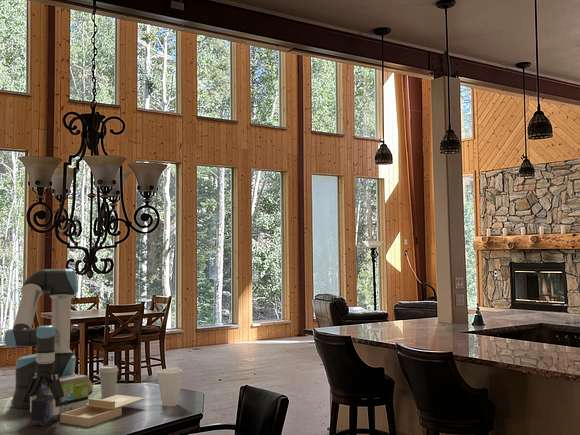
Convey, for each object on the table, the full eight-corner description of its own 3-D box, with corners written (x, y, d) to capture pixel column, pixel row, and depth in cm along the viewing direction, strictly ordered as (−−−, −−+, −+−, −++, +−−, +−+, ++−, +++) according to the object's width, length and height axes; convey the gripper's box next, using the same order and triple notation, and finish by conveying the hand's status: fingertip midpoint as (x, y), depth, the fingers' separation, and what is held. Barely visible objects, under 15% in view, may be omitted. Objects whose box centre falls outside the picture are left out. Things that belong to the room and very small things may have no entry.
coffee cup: (122, 396, 310) (122, 366, 311) (107, 400, 302) (107, 369, 303) (109, 394, 315) (109, 364, 316) (94, 397, 307) (94, 367, 308)
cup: (168, 400, 299) (168, 367, 300) (187, 403, 293) (187, 369, 294) (151, 406, 289) (151, 371, 290) (171, 409, 283) (171, 374, 284)
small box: (44, 426, 257) (44, 400, 257) (30, 425, 258) (30, 400, 259) (58, 419, 267) (58, 395, 268) (44, 419, 269) (45, 394, 269)
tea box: (61, 414, 276) (62, 380, 277) (47, 411, 281) (48, 378, 282) (89, 407, 289) (89, 375, 290) (74, 404, 294) (75, 373, 295)
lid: (85, 405, 276) (85, 398, 276) (117, 395, 295) (117, 389, 295) (114, 409, 269) (114, 402, 269) (144, 399, 287) (144, 392, 287)
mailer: (60, 422, 263) (60, 414, 263) (94, 411, 281) (94, 403, 281) (88, 426, 256) (88, 418, 256) (121, 415, 273) (121, 407, 274)
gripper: (17, 361, 266) (16, 412, 265) (59, 365, 255) (58, 417, 254) (31, 359, 273) (31, 408, 271) (73, 362, 262) (72, 413, 260)
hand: (44, 413), depth 262 cm, fingers open, 13 cm apart
